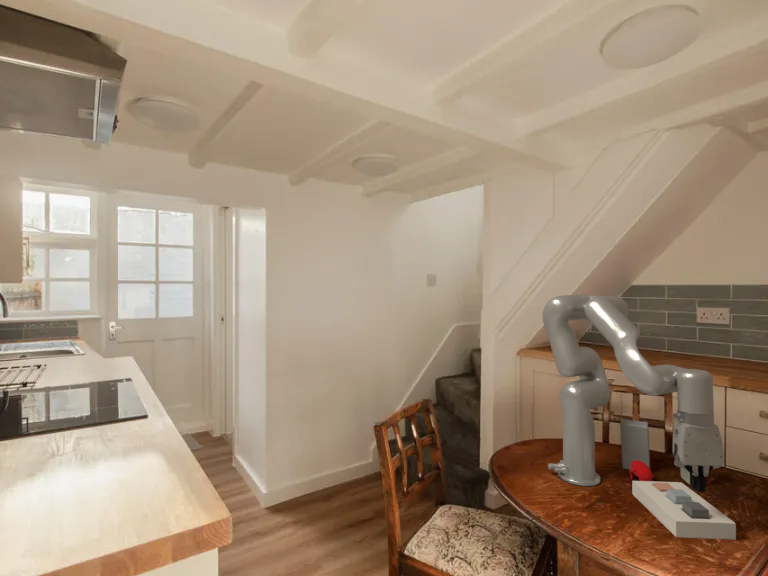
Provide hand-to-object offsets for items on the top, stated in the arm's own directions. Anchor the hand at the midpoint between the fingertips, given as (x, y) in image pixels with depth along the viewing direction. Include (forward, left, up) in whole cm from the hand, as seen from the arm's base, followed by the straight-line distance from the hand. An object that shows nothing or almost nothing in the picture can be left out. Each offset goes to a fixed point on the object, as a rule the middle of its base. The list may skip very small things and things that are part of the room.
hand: (698, 489), depth 109 cm
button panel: (0, +8, -10) cm, 13 cm away
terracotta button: (0, +15, -9) cm, 17 cm away
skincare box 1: (+3, +38, -11) cm, 39 cm away
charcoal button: (0, +1, -7) cm, 7 cm away
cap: (0, +28, -11) cm, 30 cm away
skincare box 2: (+16, +29, -11) cm, 34 cm away
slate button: (0, +8, -7) cm, 11 cm away
